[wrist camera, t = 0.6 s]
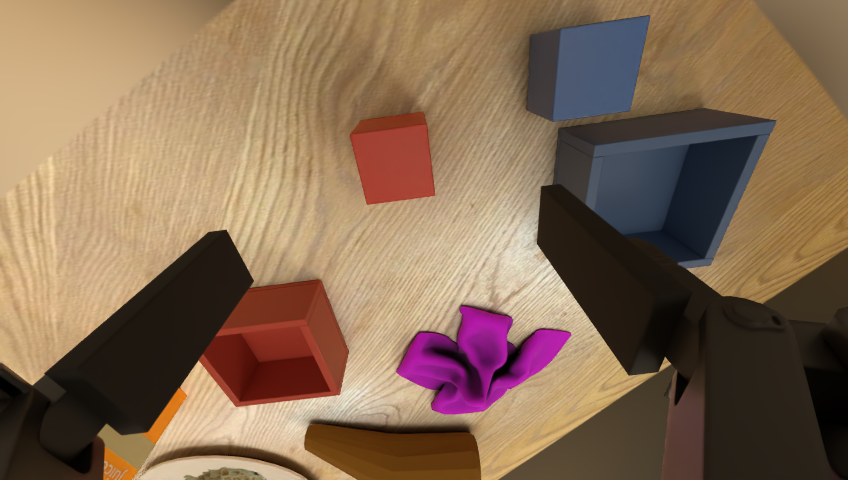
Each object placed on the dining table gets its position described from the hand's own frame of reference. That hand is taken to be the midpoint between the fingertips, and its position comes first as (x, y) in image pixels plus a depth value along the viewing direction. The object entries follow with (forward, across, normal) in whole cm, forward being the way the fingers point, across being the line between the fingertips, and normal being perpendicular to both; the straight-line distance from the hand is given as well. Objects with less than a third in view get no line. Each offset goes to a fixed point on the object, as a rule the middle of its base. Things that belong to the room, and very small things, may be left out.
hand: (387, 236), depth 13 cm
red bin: (+14, -16, -18) cm, 28 cm away
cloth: (+14, +6, -28) cm, 32 cm away
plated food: (+15, -39, -56) cm, 70 cm away
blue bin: (+14, +19, -6) cm, 24 cm away
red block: (+14, 0, 0) cm, 14 cm away
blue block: (+14, +13, +4) cm, 19 cm away
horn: (+14, -8, -44) cm, 47 cm away
